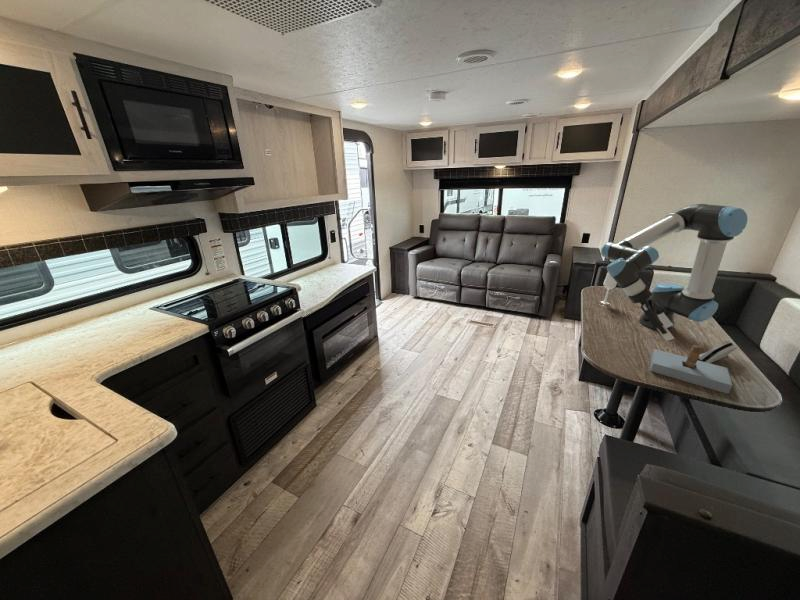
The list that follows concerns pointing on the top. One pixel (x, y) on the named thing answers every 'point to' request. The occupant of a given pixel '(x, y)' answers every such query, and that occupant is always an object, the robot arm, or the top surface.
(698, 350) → the peg
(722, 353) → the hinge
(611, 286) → the champagne flute
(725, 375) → the hole block
